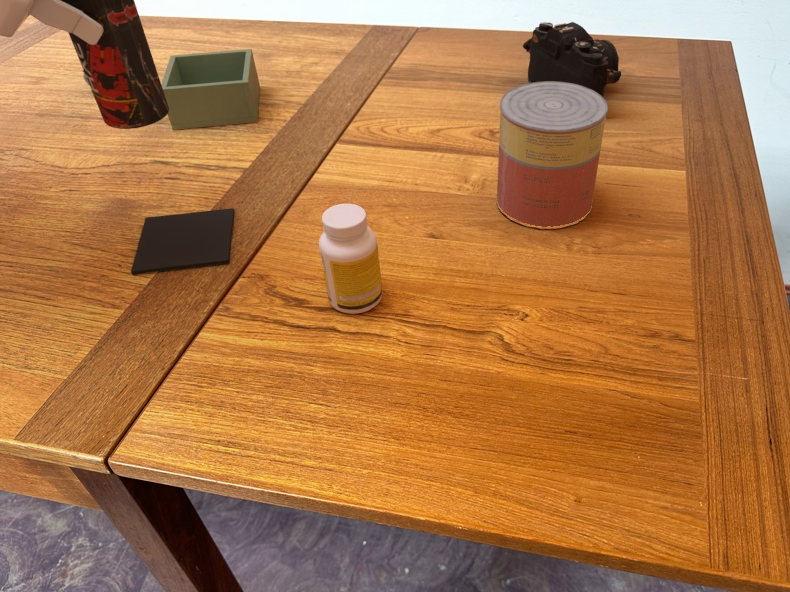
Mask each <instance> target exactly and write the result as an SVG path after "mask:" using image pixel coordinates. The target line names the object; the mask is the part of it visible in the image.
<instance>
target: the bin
mask: <svg viewBox="0 0 790 592" xmlns="http://www.w3.org/2000/svg"><path fill="white" fill-rule="evenodd" d="M161 85H162V88H163V91H164V94H165V97H166V101H167V104H168V107H169V112H168V114H167V117H168V119H169V123H170V125H171V126H170V127H171V128H172V129H171V130H173V131H176V130H177V131H178V130H186V129H187V130H188V129H189V130H190V129H197V128H208V127H218V126H219V127H220V126H230V125H240V124H251V123H258V121H259V120H258V119H259V106H260V94H261V85H260V79H259V76H258V71H257V67H256V62H255V57H254V52H253V49H252V48H246V49H245V48H244V49H233V50H222V51H211V52H210V51H209V52H196V53H186V54H185V53H184V54H172V55H170V56H169V59H168V63H167V65H166V67H165V71H164V75H163V78H162V81H161Z"/></svg>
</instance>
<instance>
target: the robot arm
mask: <svg viewBox="0 0 790 592" xmlns="http://www.w3.org/2000/svg"><path fill="white" fill-rule="evenodd" d="M30 16H31V17H33V18H34V19H36V20H37V21H38V22H40V23H42V24H44V25H46V26H49V27H51V28H54V29H58V30H60V31H64V32H67V33H68V32H69V33H73V34H75V35H76V36H78V37H79V38H81V39H82V40H84V41H85V42H87V43H89V44H91V45H95V44H97V42H98V40H99V39H100V37H101V35H102V34H103V32H104V30H105V28H106V25H105V23H104V21H103V20H101V19H100V18H97V17H96V16H95V15H94V14H92V13H91V12H89V11H88V10H85V11H84V13H83V12H82V11H80V10H78V9H76V8H74V7H73V6H71V5H69V4H67V3H65V2H63V1H61V0H0V36H1V37H5V38H12V37H13V36H14V35H15V34H16V32H17V31H18V30H19V29H20V28H21V26H22V25H23V24H24V22H25V21H26V20H27V19H28V17H30ZM69 33H68V34H69Z"/></svg>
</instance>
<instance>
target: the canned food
mask: <svg viewBox="0 0 790 592" xmlns="http://www.w3.org/2000/svg"><path fill="white" fill-rule="evenodd" d="M499 109H500V110H499V111H500V113H499V114H500V115H499V134H498V135H499V137H498V139H499V140H498V165H497V187H496V188H497V189H496V190H497V191H496V196H497V202H498V204H499V207H500V208H501V209H502V210H503V212H505V213H506V214H507V215H509V216H510V217H512V218H514V219H516V220H518V221H521V222H523V223H527V224H530V225H535V226H542V227H547V226H551V227H553V226H560V225H565V224H569V223H573V222H575V221H577V220H579V219H581V218H582V217H584V216H585V215H586V214H587V213H588V212H589V211H590V209H591V206H592V201H593V200H594V195H595V194H594V193H595V187H596V181H597V174H598V169H599V162H600V155H601V151H602V145H603V144H602V142H603V137H604V131H605V126H606V117H607V114H608V111H609V105H608V102H607V100H606V99H605V98H604V96H603V97H602V96H601V95H600V94H598V93H597V92H595V91H593V90H591V89H589V88H586V87H584V86H580V85H577V84H572V83H566V82H555V81H544V82H534V83H531V82H529V83H525V84H521V85H518V86H516V87H513V88H511V89H510V90H508V91H506V93H504V94H503V95H502V96H501V98H500V101H499ZM592 207H593V206H592Z"/></svg>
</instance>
